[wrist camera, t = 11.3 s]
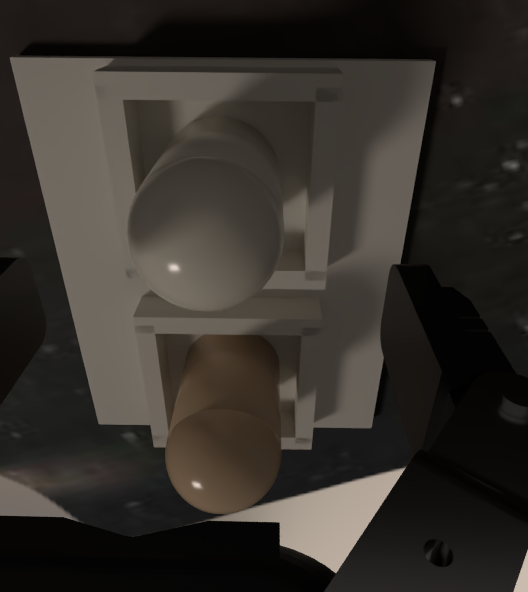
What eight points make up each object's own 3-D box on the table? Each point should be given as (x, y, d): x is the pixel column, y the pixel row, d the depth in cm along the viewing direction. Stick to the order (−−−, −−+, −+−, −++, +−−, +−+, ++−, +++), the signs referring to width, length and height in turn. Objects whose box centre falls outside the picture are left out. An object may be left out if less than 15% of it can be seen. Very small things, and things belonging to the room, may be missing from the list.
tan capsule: (280, 328, 22) (284, 459, 15) (278, 400, 24) (280, 540, 18) (182, 327, 22) (146, 458, 15) (189, 399, 24) (161, 538, 18)
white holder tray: (430, 59, 16) (451, 67, 14) (369, 419, 25) (377, 453, 23) (17, 55, 16) (-15, 63, 15) (102, 415, 25) (88, 448, 24)
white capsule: (282, 116, 17) (290, 184, 11) (278, 233, 19) (284, 344, 13) (155, 115, 17) (91, 182, 11) (167, 232, 19) (120, 342, 13)
